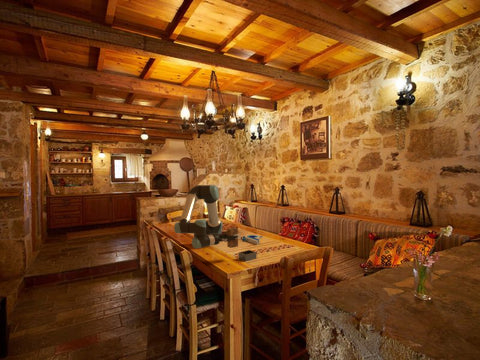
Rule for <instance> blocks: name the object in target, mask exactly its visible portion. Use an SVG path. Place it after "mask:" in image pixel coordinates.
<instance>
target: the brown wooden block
mask: <svg viewBox="0 0 480 360" xmlns="http://www.w3.org/2000/svg"><path fill="white" fill-rule="evenodd" d="M226 231H227V233H226V234H227V236H233V235H237V234H239V228H238V227H235V226H234V227H229V228H228V227H227V230H226ZM226 243H227V246H226V247H228V248H230V249H231V248H232V249H233V248H237V247H239V238H236V239H235V240H231V241H227V242H226Z"/></svg>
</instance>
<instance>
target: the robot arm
mask: <svg viewBox="0 0 480 360" xmlns="http://www.w3.org/2000/svg"><path fill="white" fill-rule="evenodd" d="M219 197H220V189H219V188H218V186H217V185H215V184H198V185H194V186H193V187H192V188H191V189H190V190H189V191H187V194H186V197H185V199H186V200H185V203H184V206H183V209H182V212H181V216H180V219H179V221H178V222H175V223H174V226H173V229H174V232H175V234H193V238H192V239H191V246H192V247H193V248H194V249H202V248H206V247H211V246H217V245H219V244H220V242H224V243H227V241H231V240H235V239H236V238H238V239H241V237H242V235H241V234H242V233H238V234H237V235H233V236H227V233H223V234H222V232H223V226H224V225H223V221H222V220H221V219H220V218H219V213H218V212H219V211H218V206H217V201H218V200H219ZM198 200H203V203H206V204H205V205H206V210H207V211H206V212H207V216H208V217H207V218H208V220H207V219H204V218H203V219H195V221H194V222H191V220H192V217H193V213H194V209H195V205H196V203H197V202H198Z"/></svg>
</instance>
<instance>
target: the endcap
mask: <svg viewBox="0 0 480 360" xmlns="http://www.w3.org/2000/svg"><path fill="white" fill-rule="evenodd" d="M257 257H258V256H257V251H254V250H251V249H248V250H244V251H243V250H242V251H239V252H238V259H239V260H240V261H244V262H248V261H252V260H255V259H258V258H257Z"/></svg>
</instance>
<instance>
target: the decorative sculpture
mask: <svg viewBox="0 0 480 360" xmlns="http://www.w3.org/2000/svg"><path fill="white" fill-rule="evenodd" d="M261 238H264V236H262V235H261V236H260V235H257V234H246V235H244V236H243V235H241V238H238V241H239V240H241V242H242V241H245V242H249V243H250V242H251V244H253V245H256V246H258V245H259V244H260V239H261Z"/></svg>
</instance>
